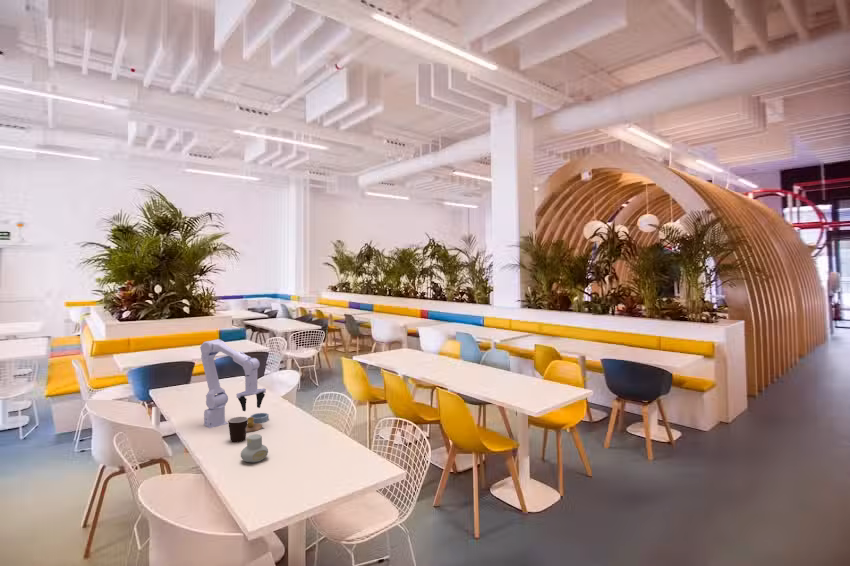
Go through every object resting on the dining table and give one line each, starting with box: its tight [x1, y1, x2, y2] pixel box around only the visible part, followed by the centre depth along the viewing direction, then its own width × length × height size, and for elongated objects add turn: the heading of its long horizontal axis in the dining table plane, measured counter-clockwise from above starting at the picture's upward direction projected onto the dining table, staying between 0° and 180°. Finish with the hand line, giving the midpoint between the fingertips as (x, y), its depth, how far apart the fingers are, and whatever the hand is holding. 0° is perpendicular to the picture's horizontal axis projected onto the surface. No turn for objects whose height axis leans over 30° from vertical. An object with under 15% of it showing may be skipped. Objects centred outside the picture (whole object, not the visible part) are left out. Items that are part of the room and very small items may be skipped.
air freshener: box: [240, 433, 269, 464], centre depth 187 cm, size 11×8×10 cm
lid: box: [246, 417, 263, 433], centre depth 224 cm, size 11×11×5 cm
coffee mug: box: [227, 416, 249, 443], centre depth 210 cm, size 12×9×10 cm
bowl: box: [250, 412, 270, 424], centre depth 236 cm, size 9×9×3 cm
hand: (251, 409), depth 224 cm, fingers open, 7 cm apart
